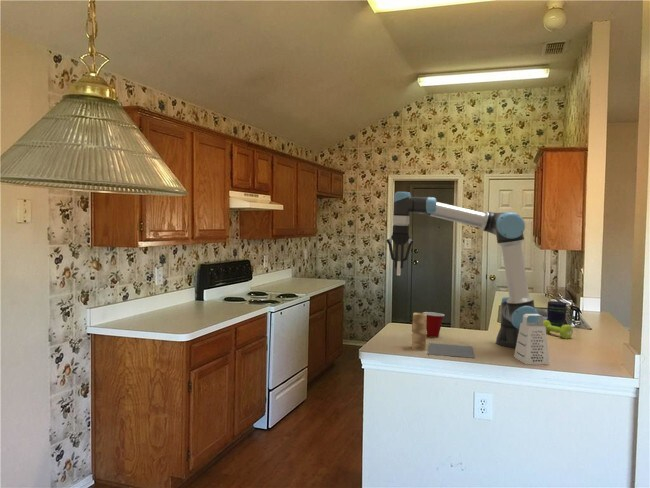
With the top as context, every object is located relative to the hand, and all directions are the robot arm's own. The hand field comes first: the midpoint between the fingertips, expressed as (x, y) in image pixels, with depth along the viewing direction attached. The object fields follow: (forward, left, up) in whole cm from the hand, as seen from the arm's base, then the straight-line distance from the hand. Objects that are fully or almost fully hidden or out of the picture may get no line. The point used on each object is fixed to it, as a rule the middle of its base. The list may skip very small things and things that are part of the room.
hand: (398, 275), depth 230 cm
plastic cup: (-16, -26, -34) cm, 46 cm away
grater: (-58, +7, -34) cm, 68 cm away
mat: (-25, +1, -34) cm, 42 cm away
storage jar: (-83, -66, -34) cm, 111 cm away
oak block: (-10, +1, -34) cm, 35 cm away
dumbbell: (-79, -48, -34) cm, 99 cm away
